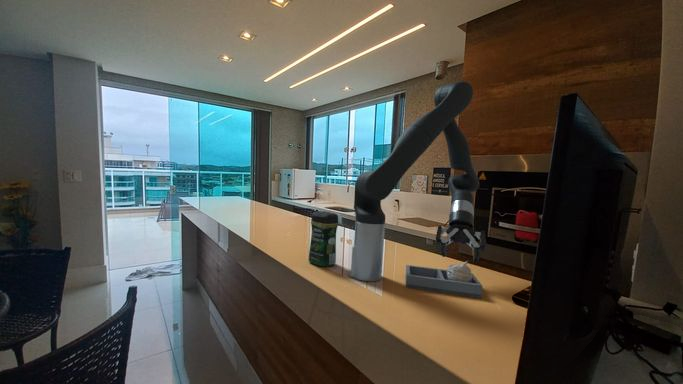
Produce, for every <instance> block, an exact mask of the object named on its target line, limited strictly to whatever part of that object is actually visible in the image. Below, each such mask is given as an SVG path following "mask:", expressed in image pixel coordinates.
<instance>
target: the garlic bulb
mask: <svg viewBox="0 0 683 384" xmlns="http://www.w3.org/2000/svg"><path fill="white" fill-rule="evenodd" d="M468 262H469V261H468V260H467V261H464V262H463V263H454V264H451V265H449V266H448V267H447V269H446V270H447V271H446V273H447V276H448V279H449V280H452V281H460V282H467V283H470V282H471V280H472V275H471V273H472V269H471V268H470V267H469V266H468V265H467V264H468Z"/></svg>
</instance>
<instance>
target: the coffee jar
mask: <svg viewBox="0 0 683 384" xmlns="http://www.w3.org/2000/svg"><path fill="white" fill-rule="evenodd" d="M310 220H311V221H310V225H311V234H310V235H311V236H310V243H309V251H308V262H309V263H311V264H313V265H316V266H318V267H323V268H324V267H332V266H333V265H335V264H336V262H337V261H336V260H337V245H336V244H337V229H338V226H339V215H338V214H337V213H333V212H331V211H325V210H324V211H323V210H320V211H319V210H318V211H314V212H313V213H312V214H311V219H310Z"/></svg>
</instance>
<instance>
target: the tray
mask: <svg viewBox="0 0 683 384" xmlns="http://www.w3.org/2000/svg"><path fill="white" fill-rule="evenodd" d="M446 271H447V269H441V268H435V267H433V268H432V267H427V266H419V265H412V264H411V265H410V264H406V265H405V288H409V289H414V290H415V289H416V290H420V291H428V292H434V293H435V292H436V293H442V294H448V295H455V296H462V297H463V296H464V297H467V298H468V297H469V298H476V299H480V300H481V299H482V296H483V285H482V283H481V282H480V281H479V279H478V278H477V277H476V276H475V275H474V273H472V272H471V275H472V280H471V282H470V283H467V282H460V281H452V280H449V279H448V276H447V273H446Z"/></svg>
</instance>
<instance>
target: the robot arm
mask: <svg viewBox="0 0 683 384" xmlns="http://www.w3.org/2000/svg"><path fill="white" fill-rule="evenodd" d="M473 96H474V88H473V86H472V85H471V83H469V82H467V81H465V80H461V81H455V82H451V83H448V84H444V85H440V86H439V87H438V88H437V89H436V91H435V92H434V96H433V100H434V101H433V102H434V108H433V109H431V110H429V111H428V112H426V113H425V114H423V115H422V116H420V117H418V118H417V119H416V120H414V121H413V122H411V124H410V125H409V126H407V128H406V129H405V130H404V131H403V132H402V133H401V134H400V135H399V137H398V138H397V141H396V142H395V144H394V147H393V150H392V152H391V153H390V154H389V155H388V157H387V158H386V159H385V160H384V161H383V162H382V163H381V164H380V165H379V166H378V167H377V168H376V169H374V170H369V171H364V172H362V173H360V174H359V175H358V177H357V178H356V179H355V180H356V181H355V184H354V204H353V207H354V208H353V210H354V214H355V225H354V226H355V227H354V240H353V242H354V243H353V246H352V248H351V249H352V250H351V265H350V278H354V279H356V280H358V281H359V280H360V281H363V282H377V281H379V280H381V279H382V273H383V259H384V244H385V242H384V241H385V228H386V227H385V226H386V215H385V213H384V211H383V208H382V205H381V204H382V200H383V201H384V200H385V199H386V198H388V197H389V196H390V194H391V193H392V192H393V190H394V189H395V188H396V186H397V185H398V183H399V182H400V180H401V179H402V178H403V176H404V175H405V173H406V172H407V171H408V170H409V169H410V168H411V167H412V166H413V165H414V164H415V163H416V162H417V160H418V159H419V158H420V157H421V156H422V155H423V154H424V153H425V152H426V151H427V150H428V148H429V147H430V146H431V145H432V144H433V142H434V141H435V140H436V139H437V138H438V137H439V136H440V135H441V133H442V132H443V134H444V138H445V142H446V145H447V152H448V158H449V164H450V168H451V169H452V170H454V171H455V170H456V171H463V172H464V173H460V174H454V175H451V176H450V177H449V178H448V181H447V185H448V188H449V191H450V195H451V201H450V209H449V215H448V226H447V228H446V227H445V228H444V227H442V225H437V226H438V227H437V231H436V234H435V245H438V246H440V250H439V251H440V252H439V253H440V255H441V256H442V257H443V258H445V257H446V248H447V246H448V245H450V244H451V243H452V242H453V243H456V244H457V243H460V244H464V245H465V244H467V245H468V246H469V247H470V248H471V249H472V250H473V255H472V258H473V259H472V261H473V263H477V261H479V260H480V252H485V251H486V248H487V240H486V239H487V238H486V231H485V230H480V231H475V227H474V226H475V221H474V219H475V210H474V196H473V194H472V193H473V192H474V193H475V192H477V190H478V189H479V188H480V180H479V177H478V175H477V173H476V171H475V169H474V166H473V164H472V159H471V150H470V146H469V143H468V140H467V138H466V136H465V135H464V134H463V132H462V130H461V129H460V127H459V126H458V124H457V121H456V118H458V116H459V115H460V114H461V113H462V112H464V111H465V109H467V108H468V106H469V105H470V103H471V102H472V99H473ZM445 233H446V236H445V237H444V238H442V236H443V235H444V234H445ZM475 237H476V238H477V239H478V240H479V243H480V244H479V243H478V242H477V241H476V239H475ZM441 238H442V239H441Z"/></svg>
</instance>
